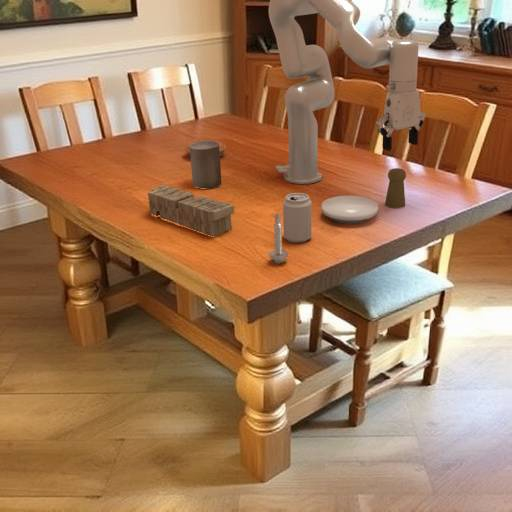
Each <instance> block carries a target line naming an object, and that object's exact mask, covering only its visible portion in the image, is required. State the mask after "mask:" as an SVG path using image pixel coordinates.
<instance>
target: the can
mask: <svg viewBox="0 0 512 512" xmlns="http://www.w3.org/2000/svg"><path fill="white" fill-rule="evenodd" d="M312 204H313V203H312V200H311V199H310V196H309V194H307V193H302V192H295V193H294V192H293V193H289V194H287V195H285V199H284V200H283V201H282V212H283V213H282V214H283V217H282V218H283V237H284V239H286V240H287V241H288V242H291V243H296V244H300V243H305V242H307V241H308V240H310V239H311V237H312V206H313V205H312Z"/></svg>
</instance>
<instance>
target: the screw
mask: <svg viewBox="0 0 512 512" xmlns="http://www.w3.org/2000/svg"><path fill="white" fill-rule="evenodd" d="M273 225H274V226H273V227H274V229H273V230H274V231H273V232H274V235H273V236H274V239H273V240H274V249H272V250H270V251H269V252H268V257H269V258H270V259H272V262H273V263H274V264H277V265H280V264H283V263H284V262H285V259H286V258H288V256H289V252H288V251H286V250H284V249H282V248H283V240H282V239H283V234H282V232H283V229H282V228H283V227H282V222H281V213H278V212H277V213H275V214H274V224H273Z"/></svg>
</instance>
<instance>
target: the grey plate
mask: <svg viewBox="0 0 512 512" xmlns="http://www.w3.org/2000/svg"><path fill="white" fill-rule="evenodd" d="M321 212H322V214H323V215H325V216H326V217H328V218H330V220H331V221H334V222H335V223H340V224H345V225H346V224H347V225H355V224H362V223H365V222H367V221H368V220H369V219H371V218H373V217H375V216H377V214H378V212H379V204H378V203H377V202H376V201H375V200H374V199H371V198H369V197H366V196H358V195H339V196H338V195H337V196H333V197H329V198H327V199H325V200H324V201H323V202H321Z"/></svg>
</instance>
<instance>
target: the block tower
mask: <svg viewBox="0 0 512 512" xmlns="http://www.w3.org/2000/svg"><path fill="white" fill-rule="evenodd" d="M147 196H148V205H149V214H153V215H156V216H158V215H160V217H161V218H163V219H167V220H170V221H172V222H175V223H178V224H180V225H183V226H186V227H188V228H191V229H193V230H196V231H199V232H202V233H204V234H207V235H210V236H212V237H213V236H215V237H217V236H216V235H218V234H220V233H222V234H224V233H223V232H225V231H226V232H228V231H227V230H229V231H231V230H233V225H232V215H234V214H235V205H234V204H232V203H229V202H222V201H219V200H216V199H215V198H214V199H213V198H210V197H206V196H204V195H200V196H198V197H194V193H192V192H188V191H186V190H185V191H184V190H182V189H180V188H176V187H172V186H168V185H167V184H163V185H159V186H157V187H154V188H151V191H148V192H147ZM160 217H159V218H160ZM230 229H231V230H230ZM226 232H225V233H226ZM220 235H221V234H220ZM210 236H209V237H210ZM218 236H219V235H218ZM212 237H211V238H212ZM213 238H214V237H213Z"/></svg>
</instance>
